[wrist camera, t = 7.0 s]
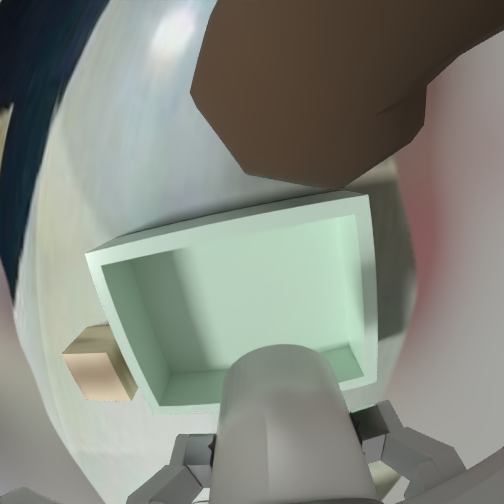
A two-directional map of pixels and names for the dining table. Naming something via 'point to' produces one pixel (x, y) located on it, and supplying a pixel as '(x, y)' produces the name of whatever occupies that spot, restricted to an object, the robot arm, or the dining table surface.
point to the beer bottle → (328, 79)
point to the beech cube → (100, 366)
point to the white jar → (287, 434)
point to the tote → (241, 295)
